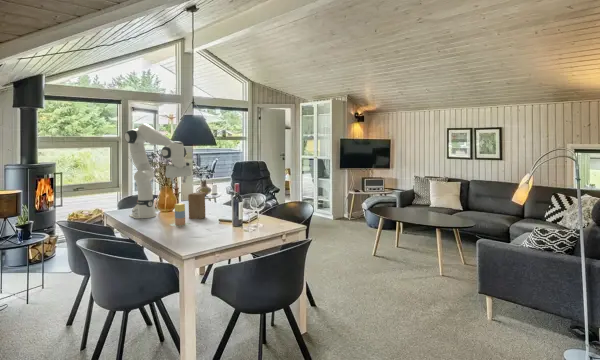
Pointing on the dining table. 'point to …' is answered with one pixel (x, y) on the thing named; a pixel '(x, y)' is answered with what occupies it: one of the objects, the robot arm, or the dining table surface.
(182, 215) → the brick slate
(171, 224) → the build plate
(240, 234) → the dining table surface
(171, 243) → the dining table surface
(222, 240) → the dining table surface
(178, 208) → the brick mustard
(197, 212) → the block
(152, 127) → the robot arm
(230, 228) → the dining table surface
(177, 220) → the brick terracotta
